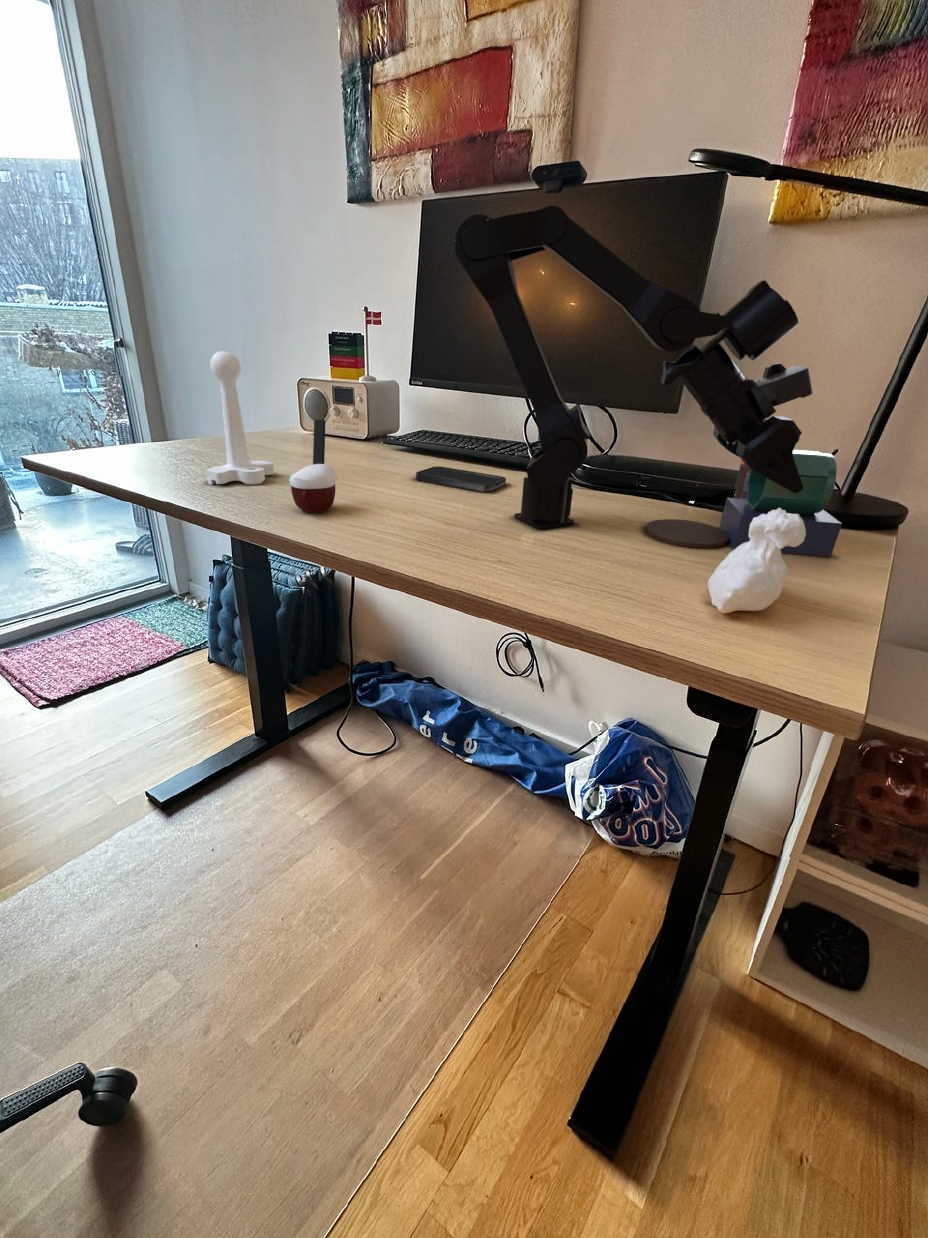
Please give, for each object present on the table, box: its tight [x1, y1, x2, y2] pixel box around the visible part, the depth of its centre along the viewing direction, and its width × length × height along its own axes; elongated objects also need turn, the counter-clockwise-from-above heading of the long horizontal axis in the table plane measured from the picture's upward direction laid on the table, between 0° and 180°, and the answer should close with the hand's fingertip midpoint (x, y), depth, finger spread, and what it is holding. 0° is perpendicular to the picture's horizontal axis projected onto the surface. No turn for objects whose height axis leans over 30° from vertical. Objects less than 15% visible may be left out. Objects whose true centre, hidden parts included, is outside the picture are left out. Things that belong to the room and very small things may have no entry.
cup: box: [747, 449, 838, 515], centre depth 76 cm, size 8×8×8 cm
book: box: [718, 497, 843, 558], centre depth 79 cm, size 12×9×4 cm
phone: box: [415, 465, 507, 493], centre depth 103 cm, size 8×1×15 cm
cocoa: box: [288, 418, 338, 513], centre depth 83 cm, size 10×6×12 cm, turn 153°
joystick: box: [205, 350, 276, 486], centre depth 94 cm, size 11×8×20 cm
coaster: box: [645, 518, 729, 549], centre depth 81 cm, size 11×11×1 cm
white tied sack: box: [707, 508, 806, 614], centre depth 58 cm, size 12×8×11 cm
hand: (787, 482), depth 76 cm, fingers open, 9 cm apart
